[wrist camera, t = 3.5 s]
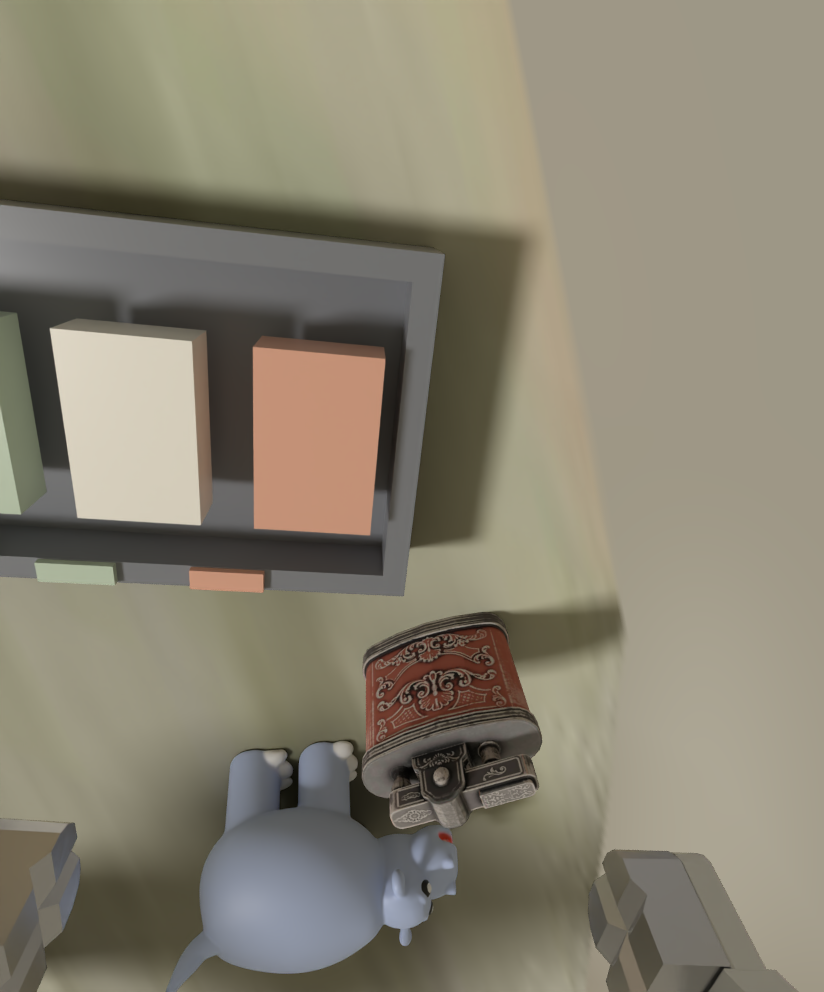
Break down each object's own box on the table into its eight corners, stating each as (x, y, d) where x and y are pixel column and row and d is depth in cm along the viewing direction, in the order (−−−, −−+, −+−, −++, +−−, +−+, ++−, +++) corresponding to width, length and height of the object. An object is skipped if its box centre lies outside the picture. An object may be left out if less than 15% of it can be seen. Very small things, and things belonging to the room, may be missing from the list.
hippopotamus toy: (451, 844, 40) (474, 1017, 32) (226, 869, 40) (187, 1051, 31) (443, 727, 35) (468, 892, 27) (188, 753, 35) (130, 930, 26)
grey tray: (-54, 523, 28) (-123, 574, 24) (-140, 183, 22) (-250, 177, 18) (399, 549, 30) (404, 600, 26) (433, 247, 24) (446, 254, 20)
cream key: (98, 495, 24) (77, 517, 22) (76, 318, 21) (49, 328, 20) (212, 502, 25) (200, 525, 23) (206, 330, 22) (192, 341, 20)
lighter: (374, 689, 34) (377, 864, 25) (353, 644, 32) (348, 813, 23) (512, 648, 33) (567, 812, 24) (497, 601, 32) (549, 757, 23)
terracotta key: (262, 505, 25) (254, 528, 23) (262, 335, 22) (252, 346, 20) (369, 512, 25) (370, 535, 24) (384, 347, 23) (385, 358, 21)
